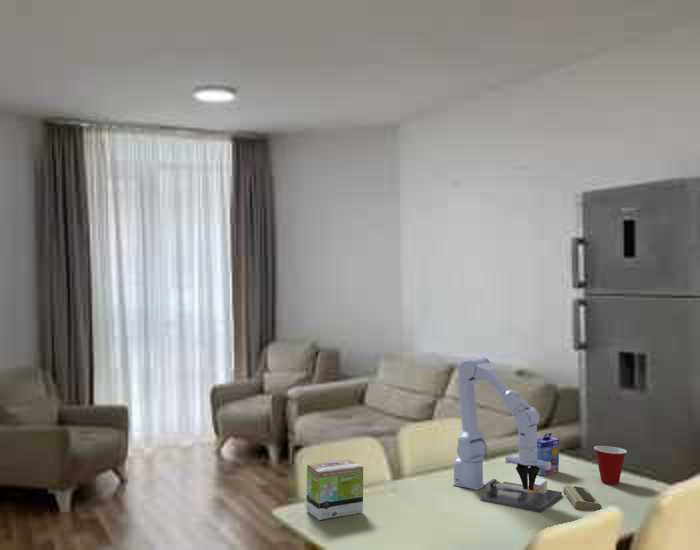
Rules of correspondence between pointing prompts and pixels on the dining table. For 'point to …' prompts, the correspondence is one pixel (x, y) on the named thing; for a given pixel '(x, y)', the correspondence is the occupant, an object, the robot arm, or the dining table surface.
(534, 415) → the robot arm
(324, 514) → the tea box
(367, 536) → the dining table surface
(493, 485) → the grey flat bar
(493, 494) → the base
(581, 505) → the computer
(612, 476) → the plastic cup
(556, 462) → the ink cartridge box
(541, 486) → the block
